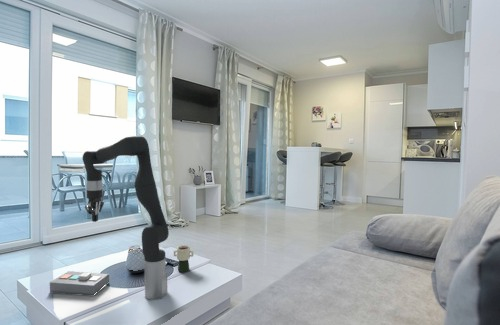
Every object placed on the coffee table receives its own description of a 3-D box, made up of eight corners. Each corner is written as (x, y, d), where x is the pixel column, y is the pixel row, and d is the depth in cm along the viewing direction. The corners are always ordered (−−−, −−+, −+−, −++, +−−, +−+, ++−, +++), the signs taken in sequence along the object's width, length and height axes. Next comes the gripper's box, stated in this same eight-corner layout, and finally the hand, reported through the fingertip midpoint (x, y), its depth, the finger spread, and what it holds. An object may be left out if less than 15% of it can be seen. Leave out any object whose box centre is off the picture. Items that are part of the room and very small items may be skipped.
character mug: (194, 267, 166) (194, 245, 165) (192, 273, 158) (192, 249, 158) (175, 267, 166) (175, 245, 165) (172, 273, 158) (171, 249, 158)
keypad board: (109, 283, 146) (109, 273, 145) (93, 296, 134) (93, 285, 134) (68, 280, 148) (68, 271, 148) (50, 292, 136) (49, 282, 136)
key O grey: (91, 281, 142) (91, 273, 142) (86, 284, 139) (86, 276, 138) (84, 280, 143) (84, 272, 142) (78, 284, 139) (78, 276, 139)
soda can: (137, 271, 160) (136, 250, 159) (125, 270, 161) (125, 249, 161) (144, 266, 167) (143, 245, 166) (133, 265, 168) (132, 244, 168)
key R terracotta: (72, 282, 144) (72, 274, 143) (67, 286, 140) (66, 278, 140) (65, 282, 144) (65, 274, 144) (59, 285, 140) (59, 277, 140)
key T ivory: (101, 284, 142) (100, 276, 142) (96, 288, 138) (95, 280, 138) (93, 284, 142) (93, 276, 142) (88, 287, 138) (88, 279, 138)
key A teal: (82, 283, 143) (81, 275, 143) (76, 286, 139) (76, 278, 139) (74, 282, 143) (74, 274, 143) (69, 286, 140) (69, 278, 139)
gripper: (93, 191, 145) (93, 225, 147) (108, 187, 158) (109, 218, 160) (79, 190, 146) (79, 224, 147) (95, 186, 159) (96, 217, 160)
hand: (95, 221), depth 154 cm, fingers closed
